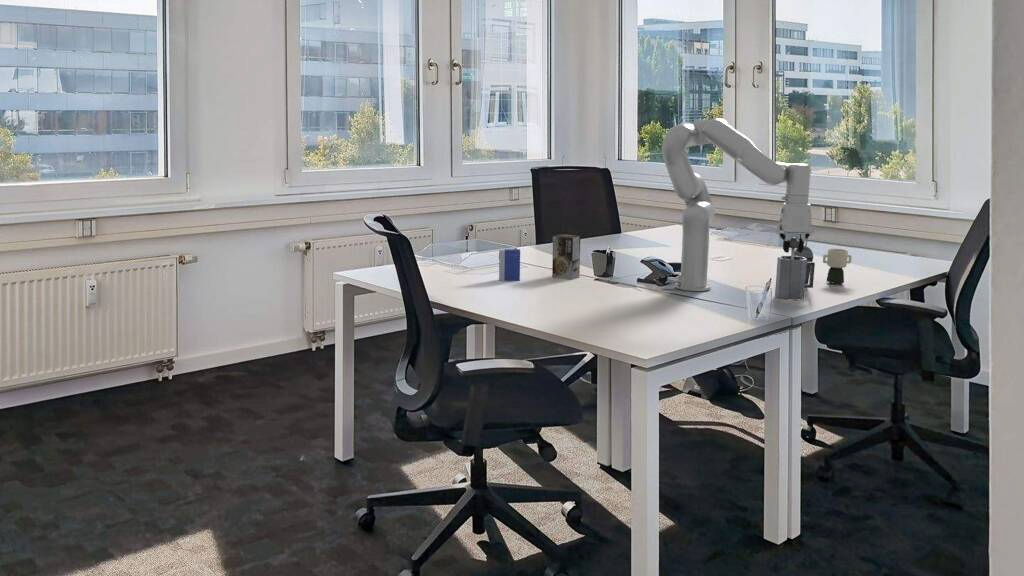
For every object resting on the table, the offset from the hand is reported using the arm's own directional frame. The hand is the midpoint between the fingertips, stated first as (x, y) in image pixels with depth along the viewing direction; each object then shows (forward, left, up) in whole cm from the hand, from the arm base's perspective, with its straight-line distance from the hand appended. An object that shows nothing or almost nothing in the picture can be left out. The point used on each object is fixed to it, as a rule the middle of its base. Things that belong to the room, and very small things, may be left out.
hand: (792, 251), depth 320 cm
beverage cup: (+10, +17, -16) cm, 26 cm away
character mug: (+26, +25, -16) cm, 40 cm away
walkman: (-98, +27, -16) cm, 103 cm away
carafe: (+2, 0, -16) cm, 16 cm away
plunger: (0, 0, -16) cm, 16 cm away
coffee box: (-76, +34, -16) cm, 85 cm away
